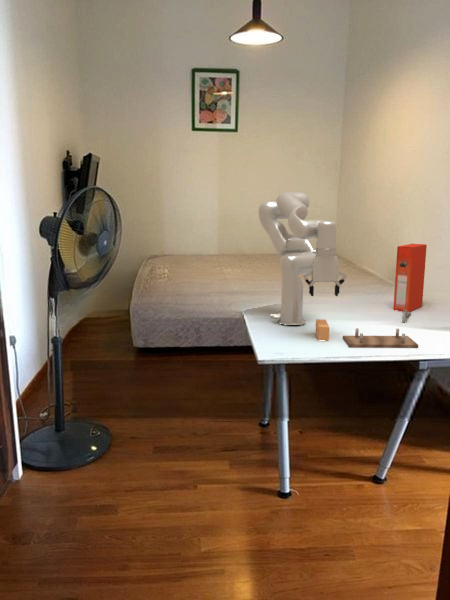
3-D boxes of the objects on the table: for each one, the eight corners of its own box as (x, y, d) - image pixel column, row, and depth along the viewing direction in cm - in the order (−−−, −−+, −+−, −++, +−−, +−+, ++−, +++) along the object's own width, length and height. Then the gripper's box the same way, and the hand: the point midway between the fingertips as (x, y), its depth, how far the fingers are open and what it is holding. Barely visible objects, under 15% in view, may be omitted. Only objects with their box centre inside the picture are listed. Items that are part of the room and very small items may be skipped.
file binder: (392, 310, 251) (397, 246, 244) (406, 304, 264) (411, 243, 257) (408, 312, 246) (413, 247, 239) (422, 306, 258) (427, 244, 251)
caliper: (404, 323, 226) (405, 310, 225) (401, 323, 227) (402, 309, 225) (411, 314, 244) (412, 301, 242) (409, 314, 244) (410, 301, 243)
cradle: (349, 347, 191) (349, 335, 190) (342, 338, 203) (343, 327, 202) (418, 347, 190) (419, 335, 189) (407, 338, 202) (408, 327, 201)
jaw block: (318, 341, 199) (319, 326, 198) (315, 333, 211) (315, 319, 210) (328, 341, 199) (329, 327, 198) (325, 333, 211) (325, 319, 209)
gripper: (304, 254, 194) (303, 297, 197) (349, 253, 194) (347, 297, 197) (302, 251, 201) (301, 293, 205) (345, 251, 201) (343, 293, 204)
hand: (324, 295), depth 201 cm, fingers open, 9 cm apart
